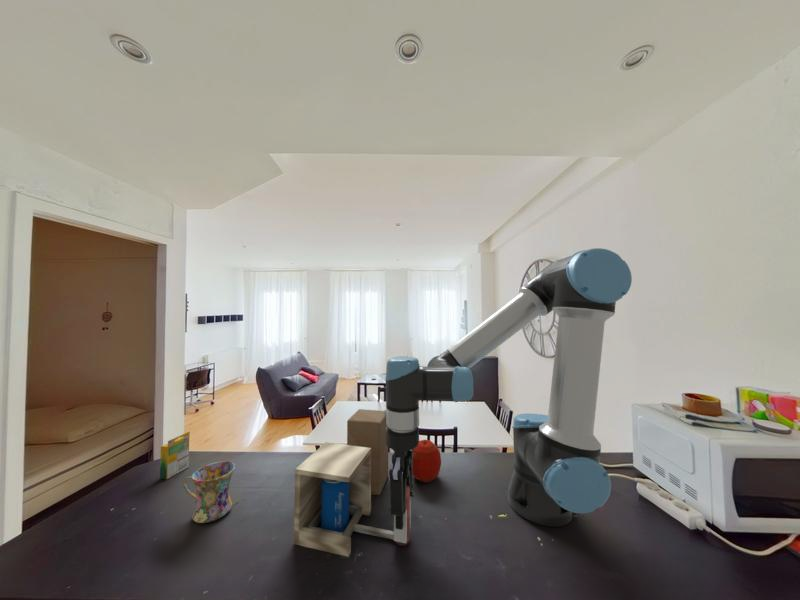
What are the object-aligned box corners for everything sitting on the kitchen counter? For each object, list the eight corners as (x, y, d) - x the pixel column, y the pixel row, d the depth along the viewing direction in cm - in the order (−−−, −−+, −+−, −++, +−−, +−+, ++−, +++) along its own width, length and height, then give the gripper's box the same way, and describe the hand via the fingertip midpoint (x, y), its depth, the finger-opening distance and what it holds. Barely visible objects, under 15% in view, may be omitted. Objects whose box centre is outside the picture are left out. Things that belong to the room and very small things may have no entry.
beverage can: (324, 542, 62) (325, 486, 62) (318, 522, 67) (319, 471, 68) (352, 531, 65) (352, 478, 65) (344, 513, 70) (345, 465, 71)
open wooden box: (370, 512, 71) (371, 447, 72) (348, 556, 58) (348, 477, 59) (324, 503, 74) (325, 442, 75) (293, 544, 61) (295, 469, 62)
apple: (419, 465, 93) (419, 430, 93) (447, 475, 87) (447, 437, 88) (402, 480, 85) (402, 441, 85) (431, 492, 79) (431, 450, 79)
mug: (241, 500, 75) (242, 460, 76) (221, 526, 66) (222, 480, 67) (194, 502, 75) (196, 461, 75) (168, 529, 65) (170, 482, 66)
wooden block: (380, 496, 77) (380, 422, 78) (346, 491, 79) (346, 420, 80) (388, 475, 87) (388, 410, 88) (358, 472, 89) (358, 408, 90)
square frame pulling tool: (414, 525, 66) (413, 477, 67) (404, 559, 57) (404, 503, 57) (327, 508, 72) (327, 464, 72) (305, 537, 62) (306, 486, 63)
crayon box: (181, 466, 93) (183, 430, 93) (189, 467, 92) (190, 431, 93) (158, 478, 85) (160, 440, 86) (166, 480, 85) (168, 441, 85)
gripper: (395, 412, 72) (396, 506, 71) (374, 440, 56) (374, 561, 55) (424, 415, 70) (425, 511, 69) (411, 444, 54) (411, 570, 53)
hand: (402, 533), depth 62 cm, fingers closed on square frame pulling tool, 3 cm apart
